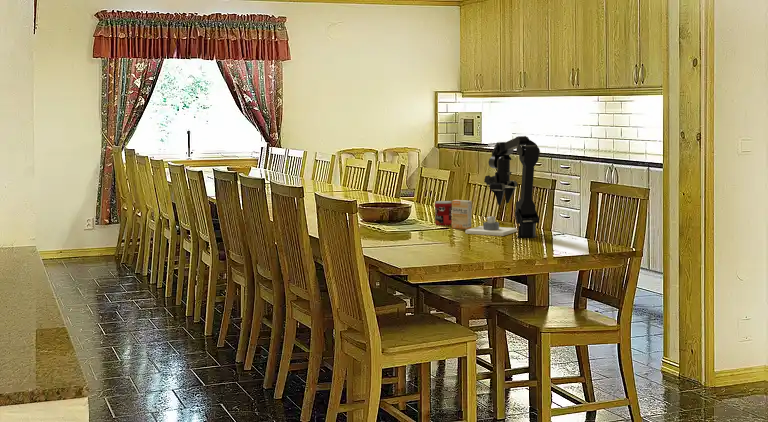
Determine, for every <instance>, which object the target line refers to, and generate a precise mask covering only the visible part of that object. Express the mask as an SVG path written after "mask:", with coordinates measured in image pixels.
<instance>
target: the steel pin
mask: <svg viewBox="0 0 768 422" xmlns="http://www.w3.org/2000/svg"><path fill="white" fill-rule="evenodd" d="M486 219H487V220H486V222H487V223H495V222H496V216H487V217H486Z"/></svg>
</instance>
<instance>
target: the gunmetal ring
mask: <svg viewBox="0 0 768 422" xmlns="http://www.w3.org/2000/svg"><path fill="white" fill-rule="evenodd" d="M482 226H483V229H484V230H499V227H500V222H499V221H495V223H487V221H484V222H483V225H482Z"/></svg>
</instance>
